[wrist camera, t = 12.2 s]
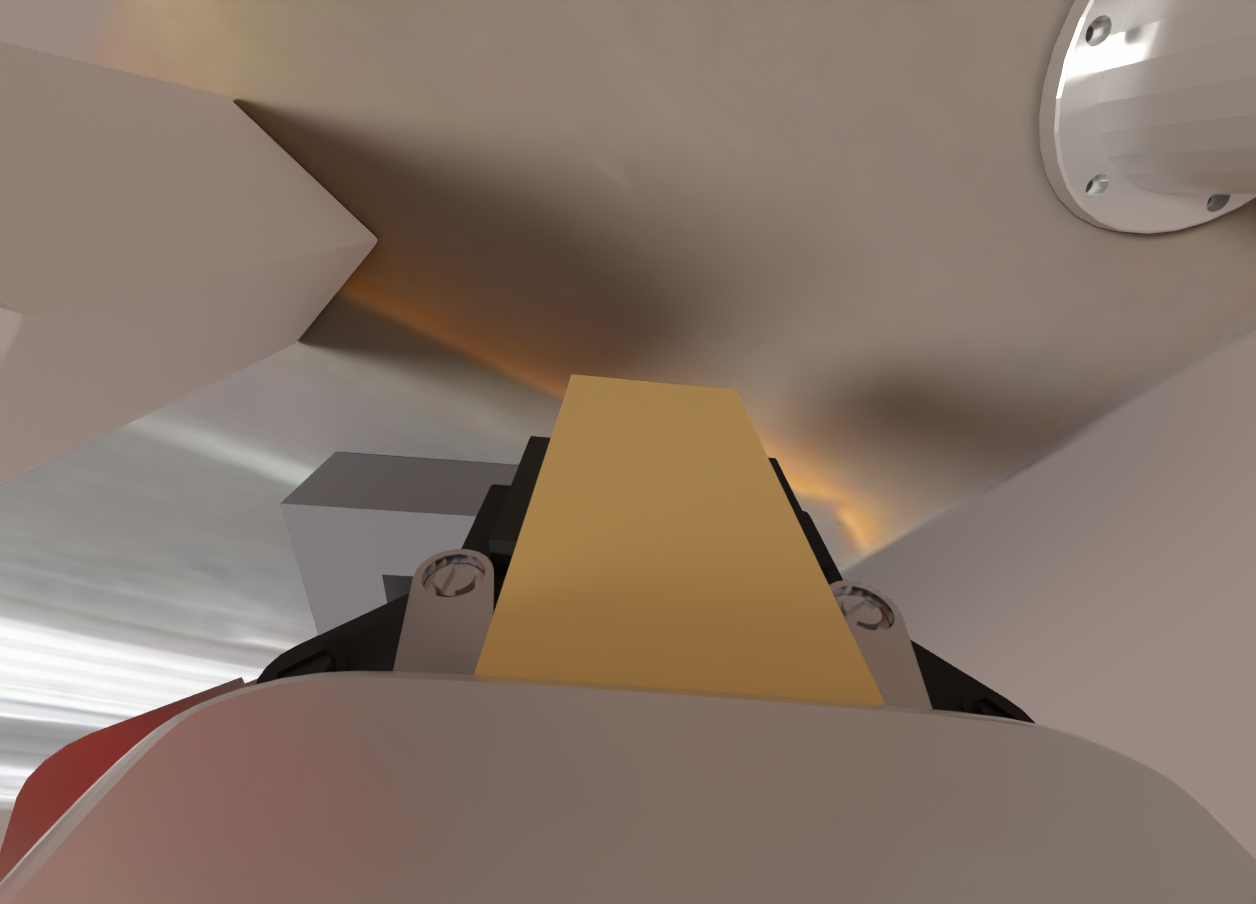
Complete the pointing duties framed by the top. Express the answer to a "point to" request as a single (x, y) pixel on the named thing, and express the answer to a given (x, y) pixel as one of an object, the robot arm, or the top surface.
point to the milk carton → (143, 249)
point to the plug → (668, 557)
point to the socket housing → (379, 525)
